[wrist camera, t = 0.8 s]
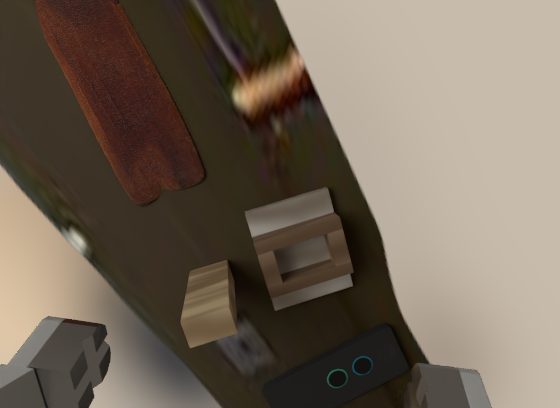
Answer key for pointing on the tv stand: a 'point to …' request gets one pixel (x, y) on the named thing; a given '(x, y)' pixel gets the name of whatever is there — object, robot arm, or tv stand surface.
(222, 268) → the oak plank
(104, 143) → the reddish wooden board
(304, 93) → the tv stand surface
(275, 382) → the smart home device
